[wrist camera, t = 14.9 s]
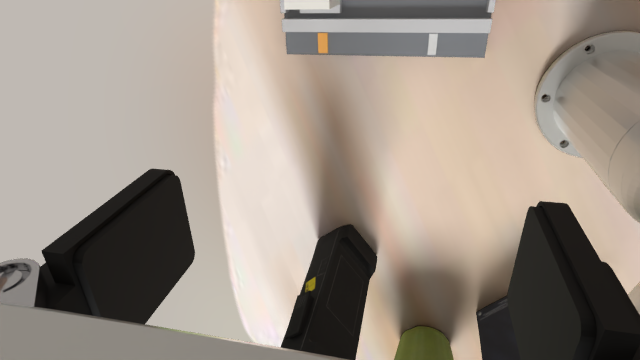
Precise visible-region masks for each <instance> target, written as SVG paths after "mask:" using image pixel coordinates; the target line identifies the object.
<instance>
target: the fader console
mask: <svg viewBox="0 0 640 360" xmlns="http://www.w3.org/2000/svg"><path fill="white" fill-rule="evenodd" d="M495 1H496V0H342V12H341V13H300V9H297V10H284V0H280V8H281V13H284V14H285V18H284V19H282V30H283V32H286V47H287V54H310V55H366V56H422V57H477V58H485V51H486V45H487V38H488V33H490V30H491V24H492V19H491V13H492V12H494V7H495Z"/></svg>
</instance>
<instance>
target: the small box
mask: <svg viewBox="0 0 640 360" xmlns="http://www.w3.org/2000/svg"><path fill="white" fill-rule="evenodd" d="M507 296H508V295H507ZM507 296H506V297H504V298H502V299H500V300H498V301H496V302H495V303H493V304H491V305H489V306H487V307H485V308H483V309H481V310H480V311H478V312H476V315H477V322H478V329H479V336H480V344H481V352H482V359H483V360H521V359H520V354H519V350H518V346H517V342H516V338H515V333H514V329H513V325H512V321H511V317H510V313H509V308H508V302H507Z"/></svg>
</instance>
